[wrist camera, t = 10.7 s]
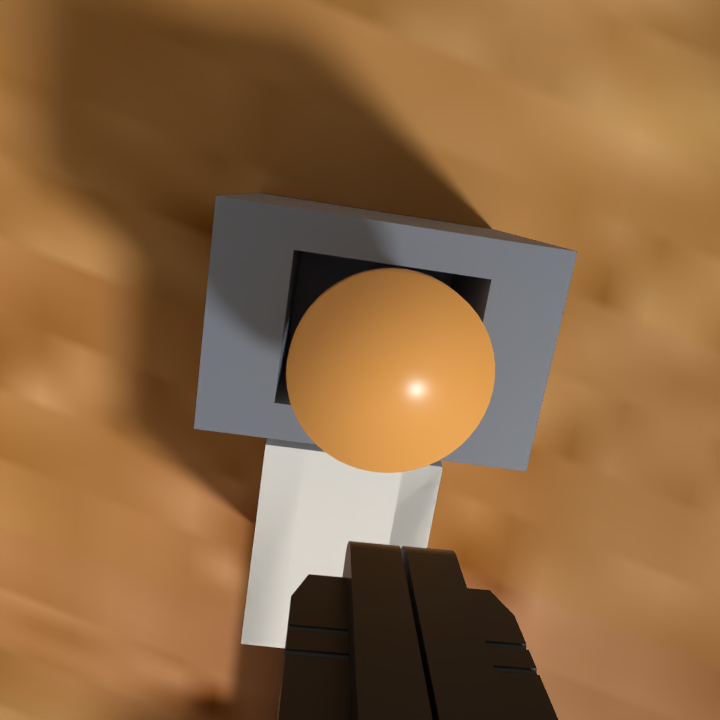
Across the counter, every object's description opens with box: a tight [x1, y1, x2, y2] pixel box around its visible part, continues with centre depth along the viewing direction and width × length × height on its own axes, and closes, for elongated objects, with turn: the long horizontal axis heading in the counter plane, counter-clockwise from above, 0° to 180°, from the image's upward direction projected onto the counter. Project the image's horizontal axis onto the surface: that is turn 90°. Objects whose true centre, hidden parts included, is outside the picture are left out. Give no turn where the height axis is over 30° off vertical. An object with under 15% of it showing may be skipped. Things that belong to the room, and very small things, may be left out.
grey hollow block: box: [194, 193, 577, 471], centre depth 21 cm, size 9×6×9 cm, turn 81°
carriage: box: [241, 438, 443, 648], centre depth 24 cm, size 5×7×7 cm
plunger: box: [286, 268, 495, 473], centre depth 16 cm, size 4×4×5 cm
